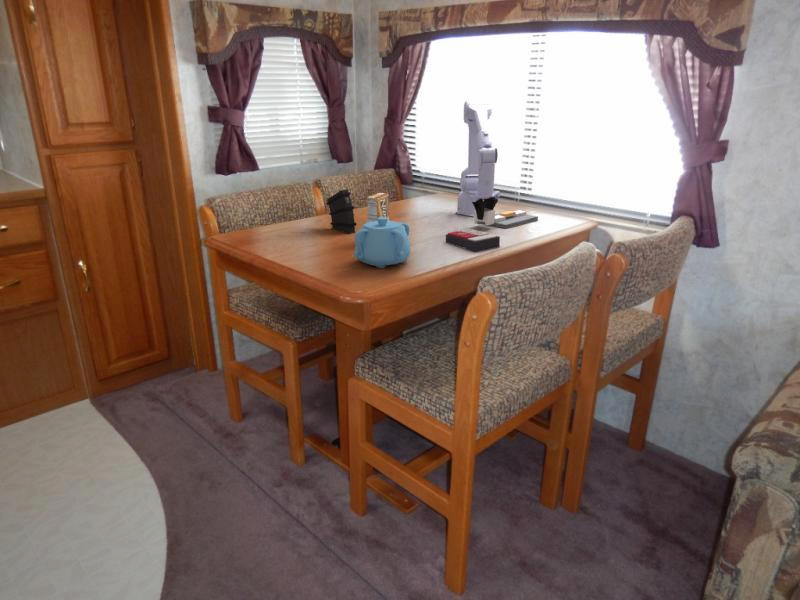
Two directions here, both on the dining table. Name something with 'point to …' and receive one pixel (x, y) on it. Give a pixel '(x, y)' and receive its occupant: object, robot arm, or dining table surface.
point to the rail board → (512, 220)
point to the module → (486, 217)
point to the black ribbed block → (342, 212)
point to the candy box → (378, 206)
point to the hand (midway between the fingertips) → (484, 218)
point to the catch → (508, 213)
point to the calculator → (473, 240)
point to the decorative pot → (382, 243)
